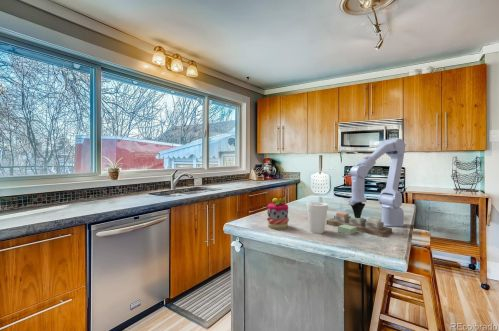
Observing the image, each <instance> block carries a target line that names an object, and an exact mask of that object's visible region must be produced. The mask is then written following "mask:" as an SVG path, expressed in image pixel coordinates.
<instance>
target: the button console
mask: <svg viewBox="0 0 499 331" xmlns="http://www.w3.org/2000/svg"><path fill="white" fill-rule="evenodd" d="M351 218H352V216H351V215H349V217H345V218H343V217H338V216H336V215H333V218H329V219H326V225H329V226H333V227H337V228H338V226H341V225H344V224H346V225H350V226H355V227H357V232H359V233H365V234H369V235H373V236H377V237H382V238H384V237H386V236H389V235H390V234H392V233H393V228H392V227H389V226H384V222H381V223H379V224H374V223H369V222H367V219H366V218H364V220H361V221H359V220H353V219H351Z"/></svg>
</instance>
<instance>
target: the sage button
mask: <svg viewBox="0 0 499 331" xmlns="http://www.w3.org/2000/svg"><path fill="white" fill-rule="evenodd" d="M351 219H353V220H359V221H361V220H364V219H365V217H362V216H361V217H360V218H355V216H351Z"/></svg>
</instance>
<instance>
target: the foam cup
mask: <svg viewBox="0 0 499 331" xmlns="http://www.w3.org/2000/svg"><path fill="white" fill-rule="evenodd" d="M328 207H329V204H328V203H327V202H326V203H325V202H319V201H309V202H306V209H307V219H308V225H309V232H310V233H312V234H313V233H314V234H324V233H325V226H326V222H327V213H328V210H329V208H328Z"/></svg>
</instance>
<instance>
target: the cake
mask: <svg viewBox="0 0 499 331" xmlns="http://www.w3.org/2000/svg"><path fill="white" fill-rule="evenodd" d="M286 199H287V198H286V197H283V198H277V197H274V198H272V201H271V203H268V205H267V216H268V217H267V218H266V220H267V221H268V222H267V227H268V228H269V229H273V230H285V229H288V228H289V227H288V225H289V223H288V222H289V221H290V219H289V216H288V213H289V205H288V204H286V203H284V202H285V200H286Z"/></svg>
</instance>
